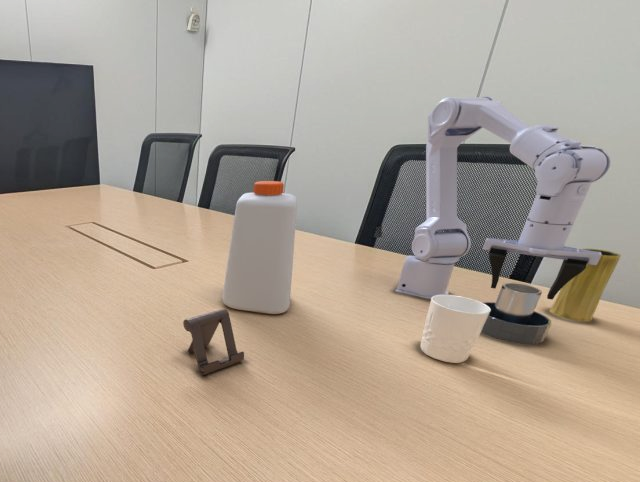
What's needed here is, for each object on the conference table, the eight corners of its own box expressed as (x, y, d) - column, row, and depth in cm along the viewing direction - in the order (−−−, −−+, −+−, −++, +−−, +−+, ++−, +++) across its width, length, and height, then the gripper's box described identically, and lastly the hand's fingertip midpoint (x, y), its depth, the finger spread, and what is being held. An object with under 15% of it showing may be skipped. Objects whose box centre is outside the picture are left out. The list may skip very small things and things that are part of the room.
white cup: (459, 345, 70) (477, 297, 66) (480, 368, 63) (501, 316, 59) (409, 339, 73) (424, 292, 69) (424, 361, 66) (441, 310, 62)
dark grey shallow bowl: (464, 331, 75) (471, 313, 73) (472, 314, 82) (478, 297, 80) (542, 352, 68) (551, 332, 66) (543, 331, 74) (551, 313, 73)
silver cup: (485, 329, 75) (501, 288, 71) (488, 320, 78) (503, 280, 74) (522, 339, 71) (542, 295, 67) (524, 329, 74) (542, 287, 71)
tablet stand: (204, 377, 63) (206, 334, 60) (177, 355, 69) (178, 315, 66) (243, 363, 67) (248, 321, 63) (214, 343, 73) (217, 304, 70)
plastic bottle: (218, 309, 87) (228, 186, 77) (228, 286, 100) (237, 177, 89) (288, 318, 82) (308, 187, 71) (289, 293, 95) (306, 178, 84)
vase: (600, 323, 76) (635, 257, 71) (564, 321, 78) (595, 256, 72) (573, 310, 82) (604, 248, 76) (540, 309, 83) (568, 247, 78)
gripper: (491, 219, 68) (468, 288, 74) (616, 231, 59) (578, 309, 64) (495, 213, 73) (473, 278, 78) (612, 224, 63) (577, 297, 68)
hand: (520, 292), depth 71 cm, fingers open, 7 cm apart
